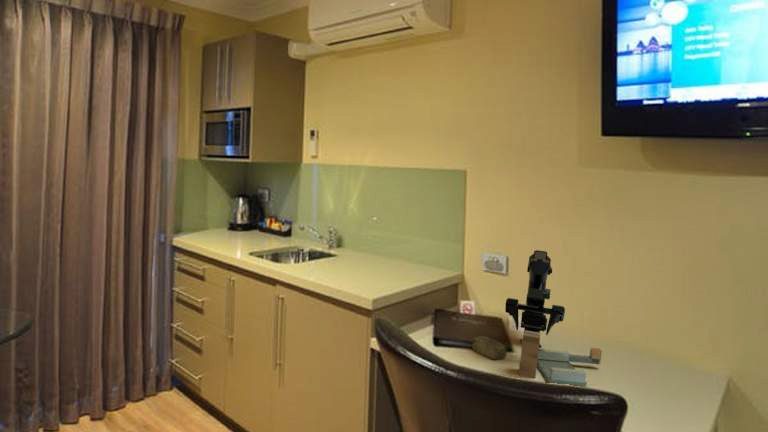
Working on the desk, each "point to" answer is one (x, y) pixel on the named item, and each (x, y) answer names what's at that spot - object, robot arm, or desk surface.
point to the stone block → (489, 347)
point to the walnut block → (529, 354)
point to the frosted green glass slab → (561, 372)
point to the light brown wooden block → (571, 356)
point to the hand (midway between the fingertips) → (531, 332)
